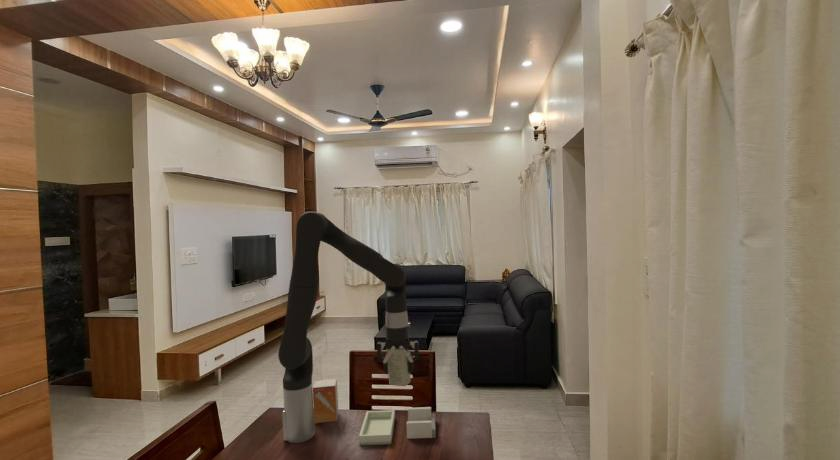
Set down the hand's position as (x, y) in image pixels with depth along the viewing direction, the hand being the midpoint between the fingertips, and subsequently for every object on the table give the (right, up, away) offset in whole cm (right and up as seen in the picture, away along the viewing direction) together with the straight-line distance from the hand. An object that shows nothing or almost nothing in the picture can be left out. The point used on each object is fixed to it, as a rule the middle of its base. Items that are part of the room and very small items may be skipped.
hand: (398, 372), depth 130 cm
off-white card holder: (+7, -19, 0) cm, 20 cm away
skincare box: (0, -4, 0) cm, 4 cm away
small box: (-27, -21, +11) cm, 36 cm away
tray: (-7, -20, +1) cm, 21 cm away
